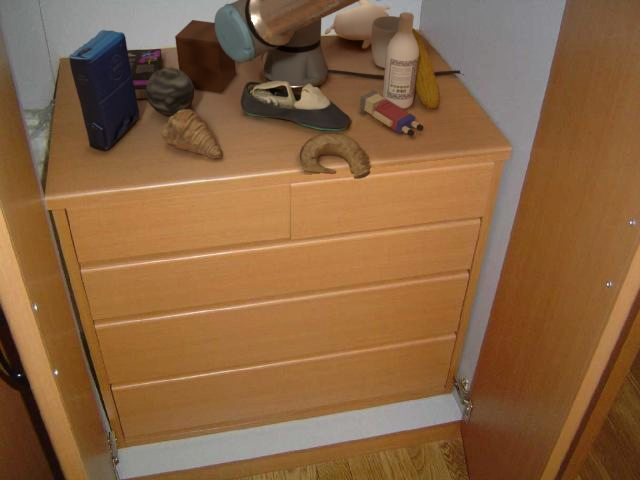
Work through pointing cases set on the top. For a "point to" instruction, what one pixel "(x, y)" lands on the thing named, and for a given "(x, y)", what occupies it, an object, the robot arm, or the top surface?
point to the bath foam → (401, 64)
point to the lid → (199, 33)
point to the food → (425, 77)
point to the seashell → (190, 134)
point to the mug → (382, 37)
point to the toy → (389, 113)
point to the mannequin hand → (358, 22)
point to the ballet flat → (293, 105)
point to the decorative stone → (170, 91)
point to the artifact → (337, 147)
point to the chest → (206, 65)
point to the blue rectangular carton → (105, 88)
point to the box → (143, 68)
